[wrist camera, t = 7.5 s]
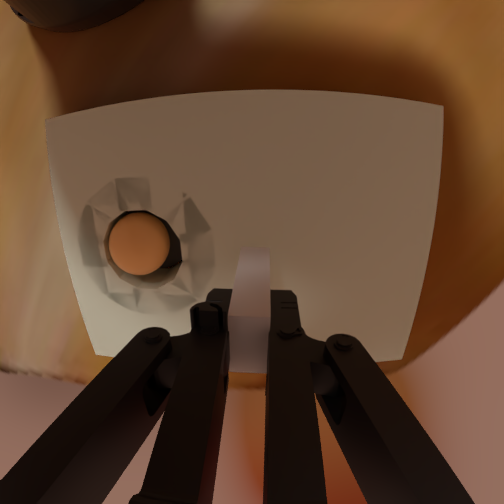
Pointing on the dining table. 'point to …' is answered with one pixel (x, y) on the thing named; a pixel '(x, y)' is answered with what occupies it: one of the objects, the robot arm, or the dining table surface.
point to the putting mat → (253, 206)
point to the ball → (139, 243)
